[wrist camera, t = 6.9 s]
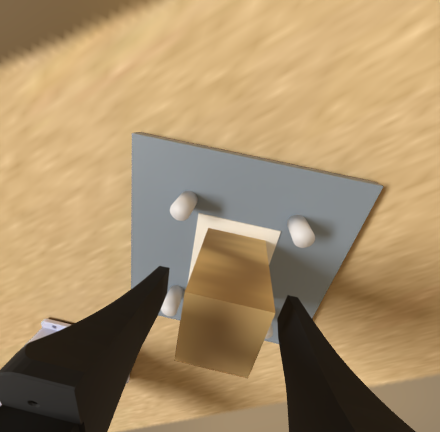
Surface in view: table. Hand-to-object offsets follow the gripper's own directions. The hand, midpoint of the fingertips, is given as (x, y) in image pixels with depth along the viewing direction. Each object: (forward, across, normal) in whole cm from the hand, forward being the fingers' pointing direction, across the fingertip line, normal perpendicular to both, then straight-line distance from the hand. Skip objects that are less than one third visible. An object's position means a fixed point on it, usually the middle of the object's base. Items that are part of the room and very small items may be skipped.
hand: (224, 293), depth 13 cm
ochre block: (+3, 0, 0) cm, 3 cm away
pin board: (+4, 0, 0) cm, 4 cm away
